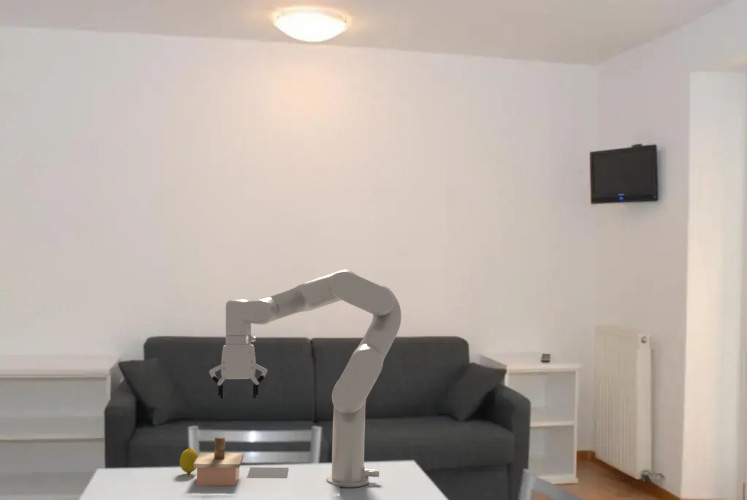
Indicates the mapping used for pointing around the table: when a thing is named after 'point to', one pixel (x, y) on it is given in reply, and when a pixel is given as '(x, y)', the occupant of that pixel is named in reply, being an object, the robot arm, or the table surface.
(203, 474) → the pink open box
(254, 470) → the mat
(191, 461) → the lemon
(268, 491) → the table surface
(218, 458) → the lid
